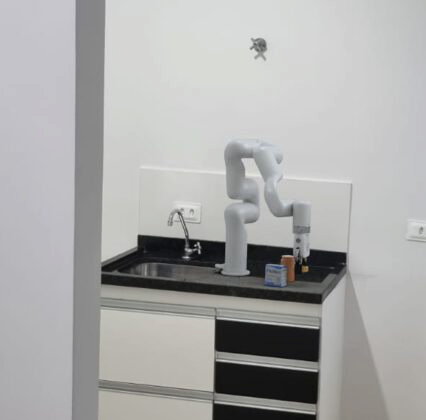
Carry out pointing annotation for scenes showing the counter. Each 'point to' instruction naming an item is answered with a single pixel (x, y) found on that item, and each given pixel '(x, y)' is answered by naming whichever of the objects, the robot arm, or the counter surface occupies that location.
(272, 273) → the medicine box
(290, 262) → the jam jar
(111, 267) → the counter surface
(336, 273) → the counter surface
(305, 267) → the jar lid
